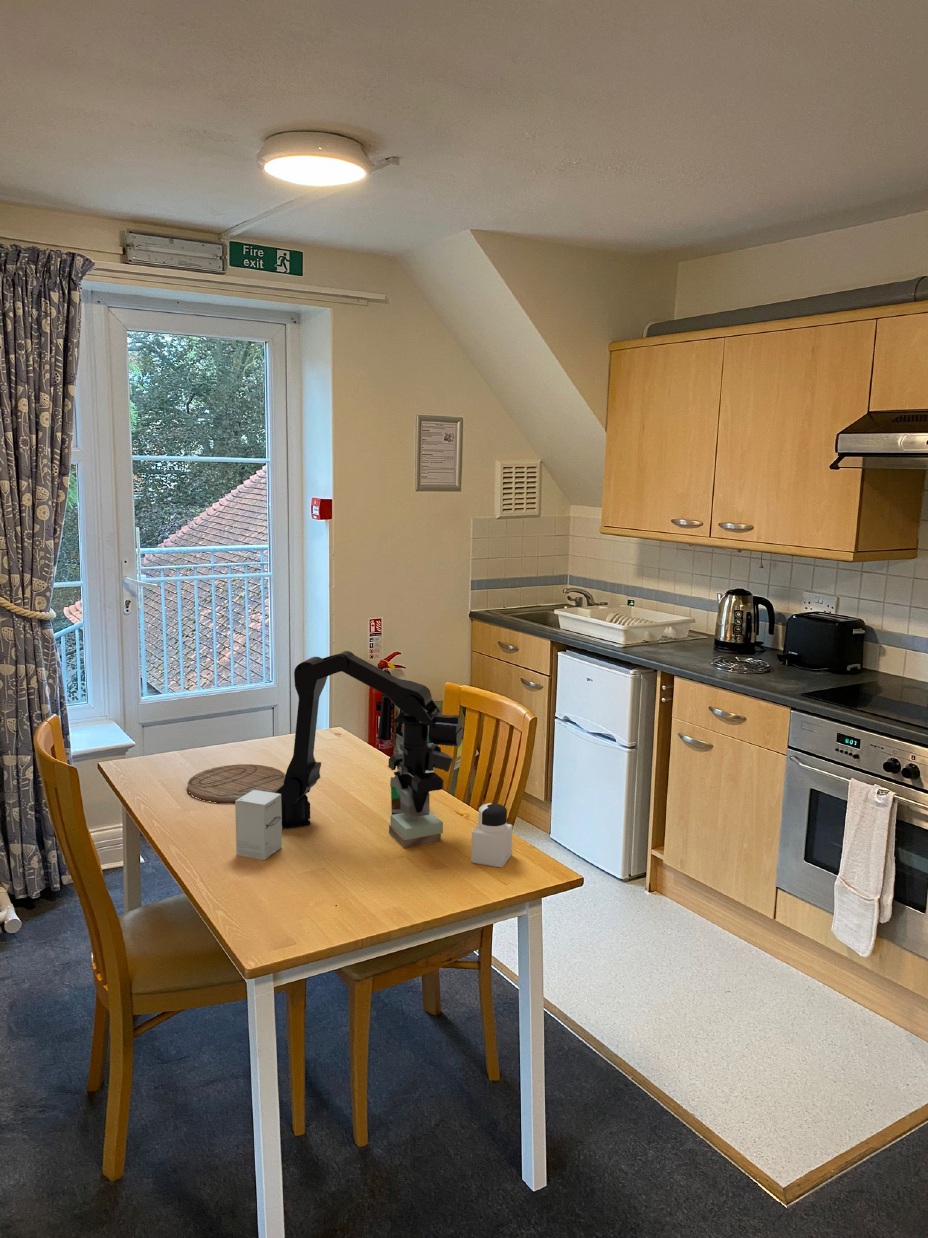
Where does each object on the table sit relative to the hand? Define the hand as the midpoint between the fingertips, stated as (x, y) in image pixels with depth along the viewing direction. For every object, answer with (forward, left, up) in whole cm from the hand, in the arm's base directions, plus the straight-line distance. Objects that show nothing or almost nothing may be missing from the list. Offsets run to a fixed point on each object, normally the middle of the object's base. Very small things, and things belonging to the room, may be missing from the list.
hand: (414, 808), depth 211 cm
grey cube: (0, 0, -1) cm, 1 cm away
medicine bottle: (+11, -17, -7) cm, 21 cm away
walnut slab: (0, 0, -8) cm, 8 cm away
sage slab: (+1, 0, -5) cm, 5 cm away
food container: (+5, +16, -7) cm, 18 cm away
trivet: (-30, +48, -8) cm, 57 cm away
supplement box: (-34, +6, -7) cm, 35 cm away
